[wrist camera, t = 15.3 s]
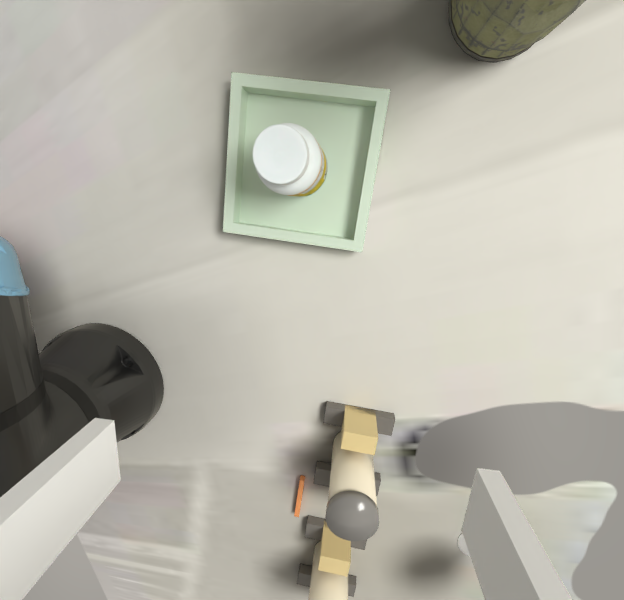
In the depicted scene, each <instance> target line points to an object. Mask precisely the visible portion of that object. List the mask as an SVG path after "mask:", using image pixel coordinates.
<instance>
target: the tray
mask: <svg viewBox="0 0 624 600" xmlns="http://www.w3.org/2000/svg"><path fill="white" fill-rule="evenodd" d="M390 90H391V89H382V88H373V87H364V86H355V85H346V84H336V83H327V82H318V81H309V80H300V79H291V78H281V77H272V76H263V75H254V74H245V73H236V72H231V90H230V109H229V128H228V146H227V165H226V183H225V202H224V220H223V232H227V233H234V234H241V235H248V236H254V237H261V238H268V239H275V240H282V241H288V242H295V243H302V244H309V245H316V246H322V247H329V248H336V249H343V250H349V251H356V252H362V251H363V245H364V240H365V234H366V228H367V222H368V217H369V211H370V205H371V199H372V193H373V188H374V182H375V176H376V170H377V165H378V159H379V153H380V147H381V142H382V136H383V130H384V124H385V119H386V113H387V107H388V101H389V96H390ZM281 123H293V124H297V125H300V126H302V127H304V128H305V129H307V130H308V131H309V132H310V133H311V134H312V135H313V136H314V137H315V139H316V140H317V142H318V144H319V145H320V147H321V148H322V150H323V151H324V153H325V156H326V159H327V163H328V172H327V176H326V179H325V181H324V183H323V185H322V186H321V187H320V189H319V190H317V191H316V192H315V193H313V194H311V195H308V196H302V197H301V196H300V197H298V196H288V195H282V194H278V193H276V192H274V191H272V190H270V189H269V188H268V187H267V186H266V185H265V184H264V183H263V182H262V181H261V179H260V178H259V176H258V173H257V171H256V167H255V165H254V162H253V146H254V143H255V140H256V139H257V137H258V135H259V134H260V133H261V132H262V131H263V130H264V129H266V128H267V127H269V126H272V125H276V124H281Z"/></svg>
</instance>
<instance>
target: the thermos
mask: <svg viewBox="0 0 624 600" xmlns="http://www.w3.org/2000/svg"><path fill="white" fill-rule="evenodd" d="M585 1H586V0H450V2H449V24H450V27H451V30H452V33H453V36H454V39H455V41H456V42H457V43H458V44H459V46H460V47H461V48H462V49H463V51H464V52H465V53H467V54H469V55H470V56H472V57H474V58H476V59H477V60H481V61H488V62H498V61H503V60H508V59H512V58H514V57H515V56H517V55H519V54H521V53H523V52H525V51H526V50H528V49H529V48H530V47H531V46H532V45H533V44H534V43H535V42H537V41H539V40H541V39H543V38H544V37H545V36H547V35H548V34H549V33H550V32H551V31H552V30H553V29H555V28H556V27H557V26H558V25H559V24H560V23H561V22H563V21H564V20H565V19H566V18H567V17H568V16H569V15H571V14H572V13H573V12H574V11H575V10H576V9H577V8H578V7H579V6H580V5H581V4H582V3H583V2H585Z"/></svg>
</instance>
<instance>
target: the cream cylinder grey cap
mask: <svg viewBox="0 0 624 600" xmlns="http://www.w3.org/2000/svg"><path fill="white" fill-rule="evenodd" d="M341 434H342V431H341V432H339V433H338V434H337V435H336V437H335V438H334V441H333V451H332V463H331V474H330V485H329V496H328V503H327V508H326V524H327V526H328V528H329V529H330V531H331V532H332V533H333V534H335V535H336V536H338V537H340V538H342V539H344V540H348V541H362V540H365V539H368V538H370V537H371V536H373V535H374V534H375V532H376V531H377V529H378V526H379V515H378V508H377V503H376V489H375V475H374V462H373V455H370V454H365V453H360V452H355V451H350V450H345V449H341Z"/></svg>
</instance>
